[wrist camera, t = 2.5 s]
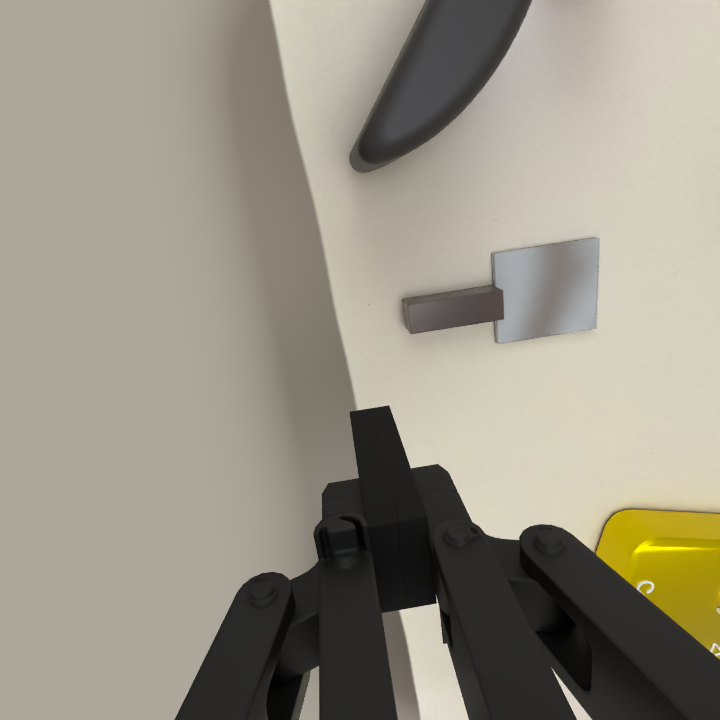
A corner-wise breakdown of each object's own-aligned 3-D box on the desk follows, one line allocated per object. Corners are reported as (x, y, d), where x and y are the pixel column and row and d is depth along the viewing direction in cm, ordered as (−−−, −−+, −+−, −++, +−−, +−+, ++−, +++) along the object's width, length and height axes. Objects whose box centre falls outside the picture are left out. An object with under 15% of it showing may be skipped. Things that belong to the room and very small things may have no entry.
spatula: (408, 355, 37) (413, 365, 35) (398, 267, 35) (403, 271, 32) (592, 326, 37) (608, 333, 35) (595, 237, 35) (612, 239, 33)
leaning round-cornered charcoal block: (399, 199, 33) (430, 197, 24) (342, 164, 32) (352, 150, 23) (530, -43, 29) (624, -151, 20) (469, -91, 28) (540, -227, 19)
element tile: (609, 506, 43) (643, 541, 39) (753, 513, 45) (801, 548, 41) (567, 630, 48) (593, 674, 43) (699, 632, 50) (738, 675, 45)
